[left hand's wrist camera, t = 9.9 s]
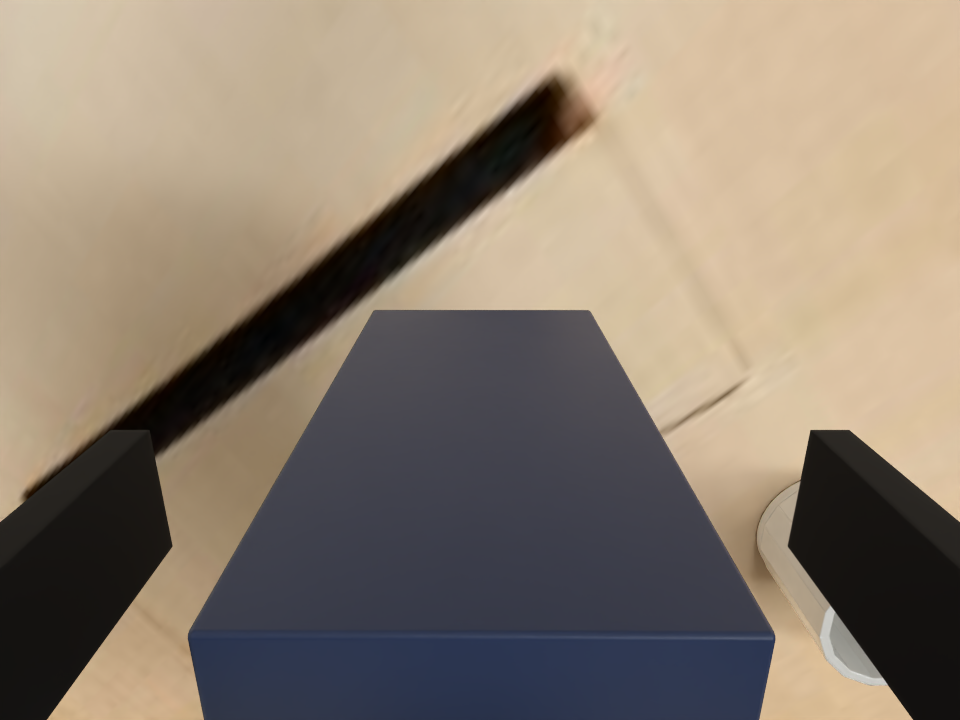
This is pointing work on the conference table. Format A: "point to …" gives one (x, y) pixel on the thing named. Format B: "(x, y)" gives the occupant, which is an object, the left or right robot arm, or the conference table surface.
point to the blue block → (481, 546)
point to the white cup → (809, 593)
